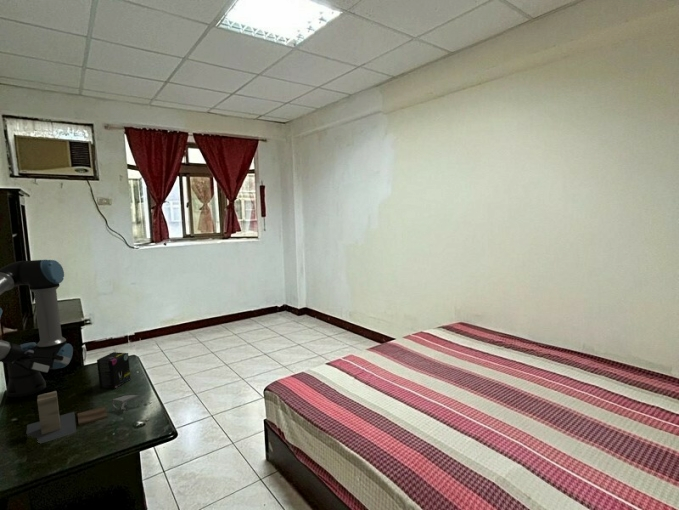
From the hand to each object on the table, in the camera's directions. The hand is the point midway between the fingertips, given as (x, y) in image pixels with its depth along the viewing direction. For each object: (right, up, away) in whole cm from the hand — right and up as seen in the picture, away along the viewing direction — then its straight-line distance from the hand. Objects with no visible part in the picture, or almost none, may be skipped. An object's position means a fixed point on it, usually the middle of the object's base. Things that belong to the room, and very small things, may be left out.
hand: (58, 365), depth 165 cm
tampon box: (+9, -18, +28) cm, 34 cm away
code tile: (+6, -22, -12) cm, 26 cm away
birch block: (+6, -22, -12) cm, 26 cm away
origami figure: (+29, -20, +3) cm, 35 cm away
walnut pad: (+17, -21, -3) cm, 27 cm away
